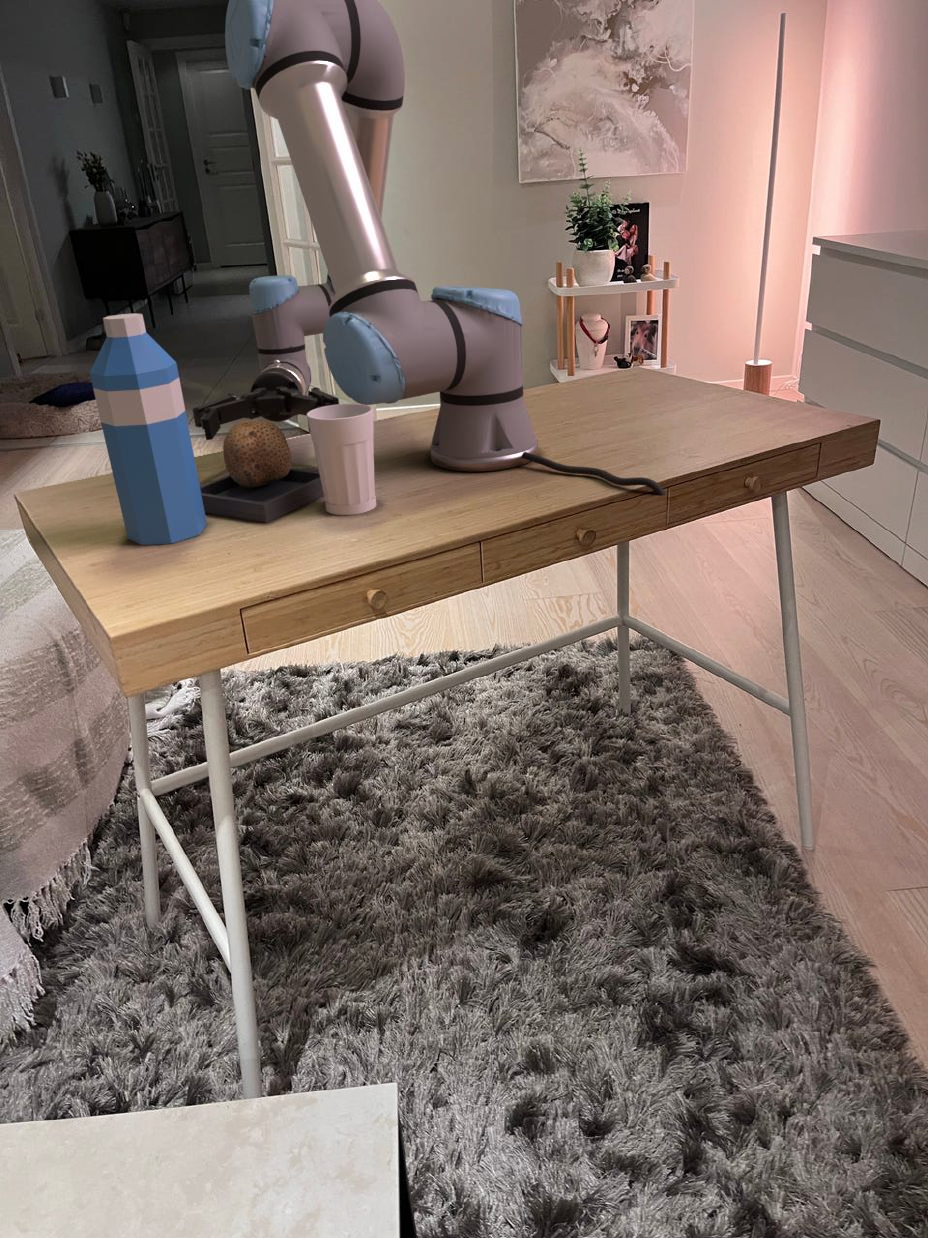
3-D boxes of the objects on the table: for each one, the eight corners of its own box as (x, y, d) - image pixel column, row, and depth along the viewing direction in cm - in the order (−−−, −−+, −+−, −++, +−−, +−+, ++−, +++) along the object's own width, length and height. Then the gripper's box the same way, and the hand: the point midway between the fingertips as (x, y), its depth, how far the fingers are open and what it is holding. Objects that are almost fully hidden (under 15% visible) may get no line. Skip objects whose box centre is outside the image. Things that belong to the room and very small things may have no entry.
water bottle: (125, 526, 116) (77, 316, 105) (202, 513, 119) (162, 307, 108) (130, 550, 108) (78, 325, 97) (212, 536, 111) (170, 316, 100)
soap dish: (335, 490, 124) (333, 473, 123) (266, 522, 114) (263, 504, 113) (258, 479, 131) (256, 463, 130) (187, 509, 120) (183, 492, 119)
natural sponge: (282, 511, 125) (294, 455, 130) (287, 469, 117) (300, 411, 123) (213, 498, 123) (228, 441, 129) (214, 454, 116) (230, 396, 121)
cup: (378, 493, 122) (369, 400, 117) (387, 512, 115) (377, 414, 109) (317, 501, 120) (304, 407, 115) (321, 520, 113) (308, 422, 108)
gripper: (191, 373, 141) (158, 404, 122) (357, 360, 141) (350, 390, 122) (200, 422, 144) (169, 460, 125) (363, 410, 145) (356, 446, 126)
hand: (259, 425), depth 124 cm, fingers open, 13 cm apart
